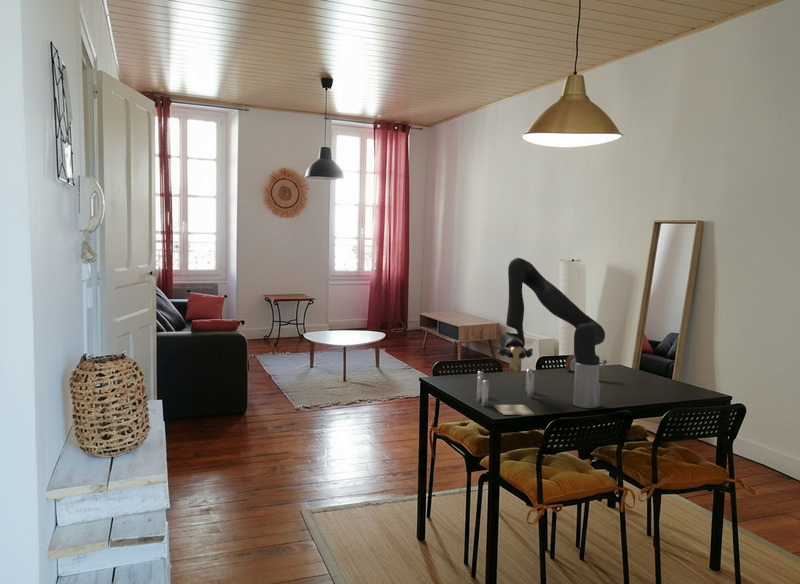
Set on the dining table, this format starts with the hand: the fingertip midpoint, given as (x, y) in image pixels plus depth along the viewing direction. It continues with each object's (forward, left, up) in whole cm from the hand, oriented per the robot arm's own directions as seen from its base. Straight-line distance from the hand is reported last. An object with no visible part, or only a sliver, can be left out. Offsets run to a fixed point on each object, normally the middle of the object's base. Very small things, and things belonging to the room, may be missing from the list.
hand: (516, 355), depth 229 cm
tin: (-58, -75, -22) cm, 97 cm away
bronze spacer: (-1, -3, -6) cm, 7 cm away
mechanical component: (-58, -55, -22) cm, 83 cm away
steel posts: (-4, -21, -22) cm, 30 cm away
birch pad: (-1, -2, -22) cm, 22 cm away
